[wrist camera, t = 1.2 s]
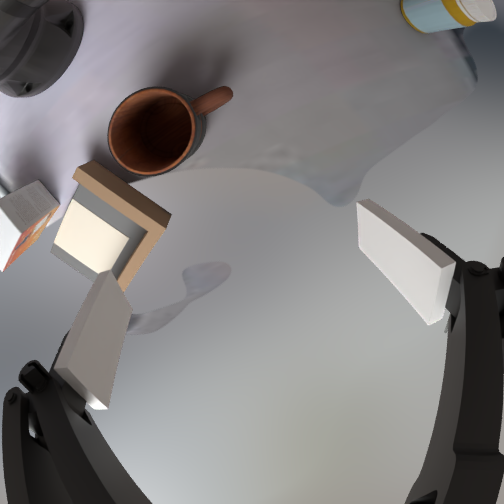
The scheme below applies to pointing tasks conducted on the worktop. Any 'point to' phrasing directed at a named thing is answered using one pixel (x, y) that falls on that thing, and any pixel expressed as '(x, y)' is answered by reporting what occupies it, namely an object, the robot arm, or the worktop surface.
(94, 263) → the brown piece
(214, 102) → the mug
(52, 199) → the small box
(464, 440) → the robot arm
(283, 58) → the worktop surface
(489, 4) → the bottle
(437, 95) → the worktop surface
